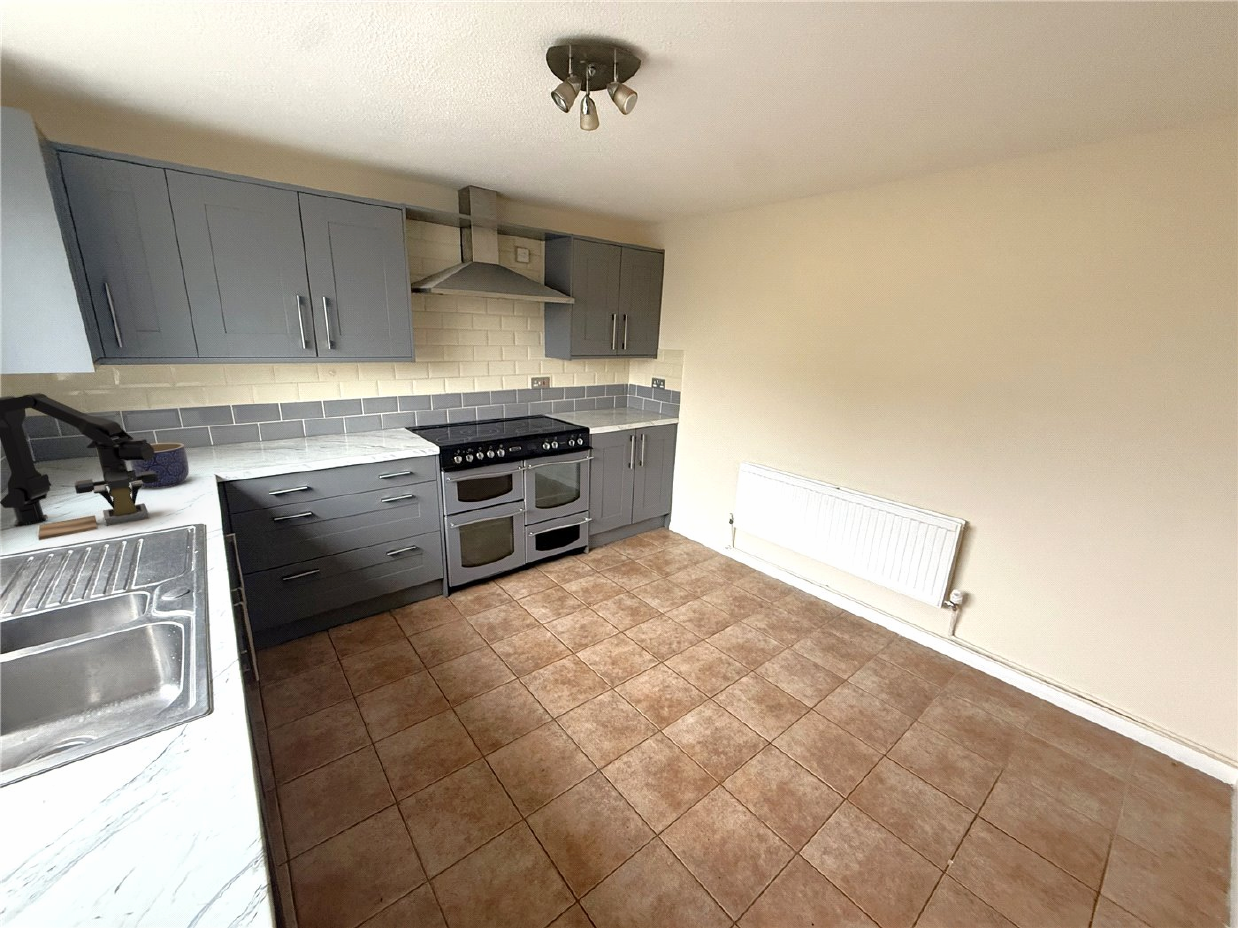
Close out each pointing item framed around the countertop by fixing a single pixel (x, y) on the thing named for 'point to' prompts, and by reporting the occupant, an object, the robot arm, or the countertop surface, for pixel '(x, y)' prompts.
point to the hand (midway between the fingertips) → (124, 506)
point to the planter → (165, 464)
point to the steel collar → (125, 516)
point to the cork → (122, 501)
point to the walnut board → (67, 527)
